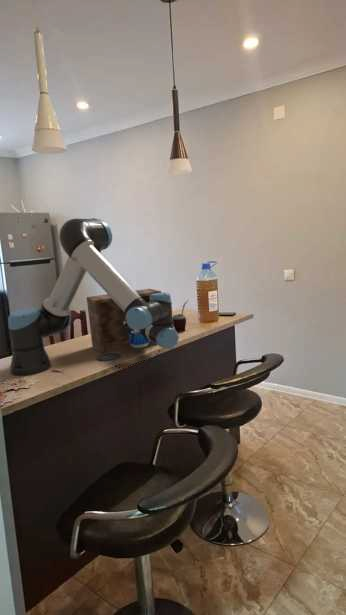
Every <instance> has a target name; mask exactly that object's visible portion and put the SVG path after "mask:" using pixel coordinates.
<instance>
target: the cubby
mask: <svg viewBox="0 0 346 615" xmlns="http://www.w3.org/2000/svg"><path fill="white" fill-rule="evenodd" d="M135 291H136V293H137V294H138V295H139V296H140V297H141V298H142V299H143V300H144V301H145V302H146V303H148V302H150V295H151V294H154V293H162V290H157V289H152V288H144V289H136V290H135ZM86 305H87V310H88V312H87V313H88V319H89V320H88V322H89V327H90V328H89V329H90V338H91V344H92V346H91V347H92V348H93V347H94V348H93V349H94V350H96V351H97V352H98V353H99V354H100V355H101V354H105V353H104V346H106V345H107V344H108V345H112V343H114V344H118V342H119V343H124V342H130V340H129V333H125V332H123V331H122V326H123V322H127V321H126V313H125V312H124V311H123V310H122V309H121V308H120V307H119V306H118V305H117V304H116V303H115V302H114V300H113V299H112V298H111V297H110V296H109V295H108V294H107V293H106V294H100V295H93V296H86Z"/></svg>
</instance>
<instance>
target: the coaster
mask: <svg viewBox="0 0 346 615" xmlns="http://www.w3.org/2000/svg"><path fill="white" fill-rule="evenodd" d="M121 355H122V354H121V353H119V352H106V353H102V354H101V353H100V354H99V355H97V356H96V357H95V358H96V360H97V361H99V362H109V361H108V360H110V361H114V359H115V360H117V358H118V359H119V357H120V358H121Z"/></svg>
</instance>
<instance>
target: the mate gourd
mask: <svg viewBox="0 0 346 615" xmlns="http://www.w3.org/2000/svg"><path fill="white" fill-rule="evenodd" d="M188 302H189V299H187V301H186V302H184V303H183V305H182V311H181V313H180V314H174V315H172V317H173V327H174V329H175V330H176V332H177V333H180V332H186V324H187V318H186V316H185V315H184V314H183V313H184V310H185V307H186V304H187V303H188Z"/></svg>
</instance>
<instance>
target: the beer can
mask: <svg viewBox="0 0 346 615" xmlns="http://www.w3.org/2000/svg"><path fill="white" fill-rule="evenodd" d="M129 340H130V341H129V345H131V347H132V348H137V349H139V348H144V347H147V346H149V344H150V342H151V341H149V340H147V339H145V338H144V337H143V335H142V334H138V333H136V334H135V335H131V334H129Z"/></svg>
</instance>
